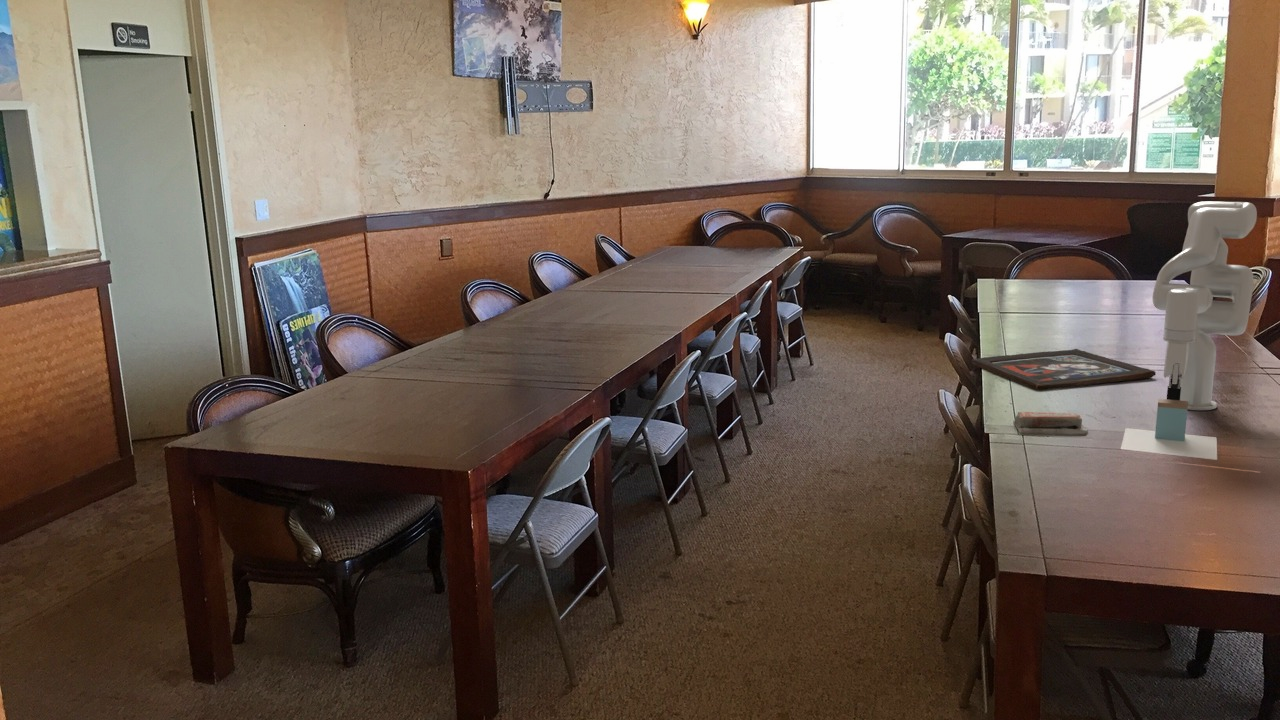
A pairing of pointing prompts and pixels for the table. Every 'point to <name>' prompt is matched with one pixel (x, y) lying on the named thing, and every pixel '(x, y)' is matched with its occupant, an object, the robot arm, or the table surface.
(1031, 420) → the packaged product
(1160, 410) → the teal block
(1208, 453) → the board
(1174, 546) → the table surface
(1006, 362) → the religious icon
